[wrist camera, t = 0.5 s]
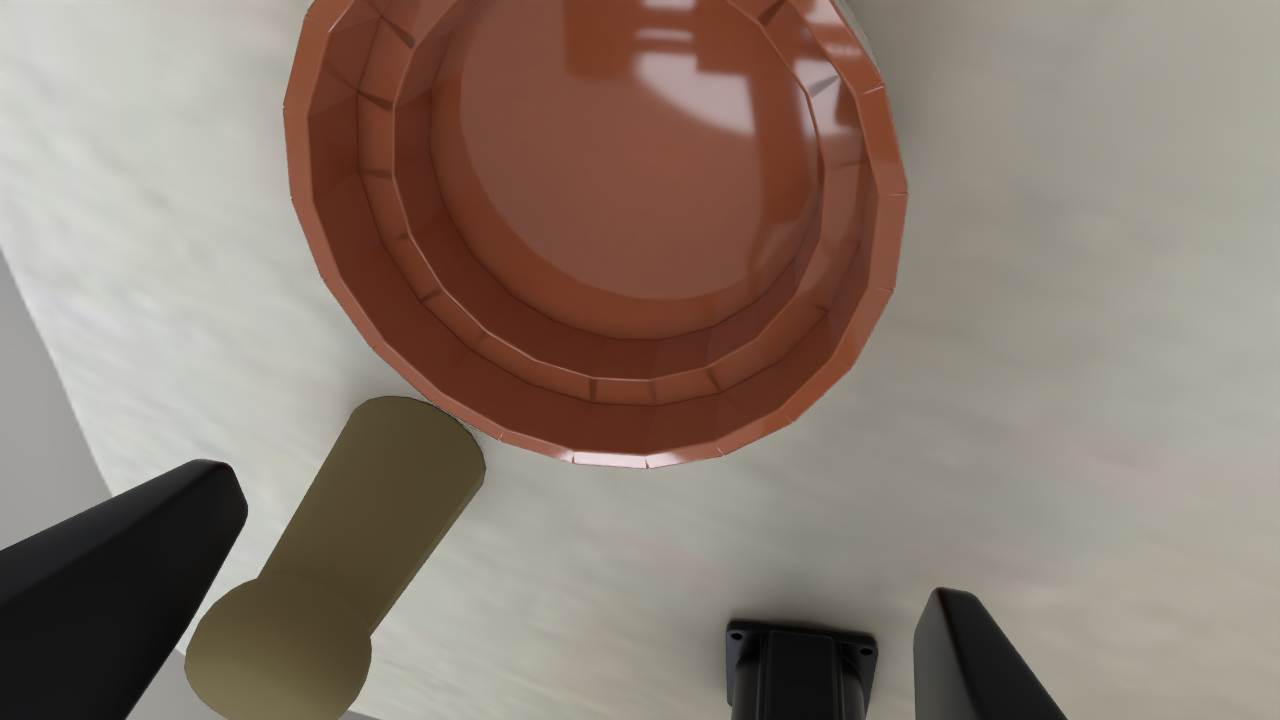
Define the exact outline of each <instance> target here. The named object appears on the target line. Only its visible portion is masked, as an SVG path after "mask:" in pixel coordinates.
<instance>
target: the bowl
mask: <svg viewBox="0 0 1280 720" xmlns="http://www.w3.org/2000/svg"><path fill="white" fill-rule="evenodd" d="M283 106H284V108H283V117H284V128H285V140H286V151H287V162H288V174H289V185H290V196H291V197H292V198H291V201H292V203H293V206H294V209H295V211H296V214H297V216H298V219H299V222H300V224H301V227H302V229H303V232H304V234H305V237H306V240H307V242H308V245H309V247H310V250H311V253H312V255H313V258H314V260H315V263H316V265H317V268H318V271H319V273H320V276H321V278H322V279H323V280H324V283H325V284H326V286H327V287H328V289H329V290H330V291H331V293H332V294H333V296H334V297H335V299H336V300H337V301H338V303H339V304H340V306H341V307H342V308H343V310H344V311H345V313H346V314H347V315H348V317H349V318H350V320H351V321H352V323H353V324H354V325H355V327H356V328H357V330H358V331H359V332H360V334H361V335H362V337H363V338H364V339H365V341H366V342H367V344H368V345H369V347H371V348H373V349H372V350H373V351H374V352H375V353H376V354H377V355H379V356H380V357H381V358H382V359H383V360H384V361H385V362H386V363H388V364H389V365H390V366H391V367H392V368H393V369H394V370H395V371H397V372H398V373H399V374H400V375H401V376H402V377H403V378H404V379H406V380H407V381H408V382H409V383H410V384H411V385H412V386H413V387H414V388H416V389H417V390H418V391H419V392H420V393H421V394H422V395H423V396H425V397H426V398H427V399H428V400H429V401H430V402H433V404H435V405H436V406H438V407H440V408H442V409H443V410H445V411H447V412H449V413H451V414H452V415H454V416H456V417H458V418H459V419H461V420H463V421H465V422H467V423H468V424H470V425H472V426H474V427H475V428H477V429H479V430H481V431H483V432H484V433H486V434H488V435H490V436H491V437H493V438H495V439H497V440H499V441H500V440H501V441H502V442H504V443H507V444H510V445H513V446H517V447H520V448H523V449H527V450H530V451H533V452H536V453H540V454H543V455H546V456H549V457H553V458H556V459H559V460H563V461H566V462H569V463H573V462H574V463H575V464H583V465H597V466H611V467H625V468H639V469H648V468H649V469H653V468H658V467H664V466H670V465H675V464H681V463H687V462H693V461H698V460H704V459H710V458H715V457H721V456H722V455H727V454H729V453H731V452H733V451H735V450H737V449H739V448H741V447H743V446H746V445H748V444H750V443H752V442H754V441H756V440H758V439H760V438H762V437H764V436H767V435H769V434H771V433H773V432H775V431H777V430H779V429H781V428H783V427H785V426H788V425H790V424H791V423H792V422H795V421H796V420H797V419H798V418H799V417H800V416H801V415H802V414H803V413H804V412H805V411H807V410H808V409H809V408H810V407H811V406H812V405H813V404H814V403H815V402H816V401H817V400H818V399H819V398H821V397H822V396H823V395H824V394H825V393H826V392H827V391H828V390H829V389H830V388H831V387H832V386H833V385H835V384H836V383H837V382H838V381H839V380H840V379H841V378H842V377H843V376H844V375H845V374H846V373H848V372H849V371H850V370H851V368H852V366H854V364H855V363H856V361H857V359H858V357H859V355H860V353H861V351H862V350H863V348H864V346H865V344H866V342H867V340H868V338H869V337H870V335H871V333H872V331H873V329H874V327H875V325H876V323H877V322H878V320H879V318H880V316H881V314H882V312H883V310H884V308H885V307H886V305H887V303H888V301H889V299H890V297H891V295H892V294H893V292H894V288H895V285H896V278H897V271H898V264H899V257H900V250H901V243H902V236H903V229H904V222H905V215H906V208H907V201H908V192H907V190H908V184H907V180H906V175H905V171H904V166H903V161H902V157H901V152H900V148H899V143H898V138H897V134H896V129H895V125H894V120H893V115H892V111H891V106H890V101H889V97H888V92H887V88H886V84H885V81H884V79H883V76H882V74H881V71H880V69H879V66H878V63H877V61H876V59H875V56H874V53H873V51H872V48H871V46H870V43H869V40H868V38H867V36H866V33H865V32H864V30H863V28H862V27H861V25H860V24H859V22H858V20H857V19H856V17H855V16H854V14H853V13H852V11H851V9H850V8H849V6H848V5H847V3H846V1H845V0H315V1H314V2H313V3H312V5H311V6H310V7H309V9H308V11H307V14H306V15H305V18H304V22H303V26H302V30H301V34H300V38H299V42H298V46H297V50H296V54H295V58H294V62H293V66H292V70H291V74H290V78H289V82H288V86H287V90H286V95H285V99H284V103H283Z"/></svg>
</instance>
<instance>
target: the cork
mask: <svg viewBox="0 0 1280 720" xmlns="http://www.w3.org/2000/svg"><path fill="white" fill-rule="evenodd" d="M485 470H486V469H485V465H484V461H483V456H482V452H481V451H480V449H479V447H478V446H477V444H476V443H475V441H474V439H473V438H472V436H471V435H470V434H469V433H468V432H467V431H466V430H465V429H464V428H463V427H462V426H461V425H460V424H459V423H458V422H457V421H456V420H455V419H453V418H452V417H450V416H448V415H447V414H445V413H444V412H442V411H440V410H439V409H437V408H435V407H434V406H431V405H428V404H425V403H422V402H419V401H417V400H414V399H411V398H402V397H391V396H386V397H381V398H376V399H371V400H368V401H366V402H365V403H363V404H362V405H360V406H359V407H357V408H356V409H355V410H354V412H353V413H352V415H351V417H350V419H349V420H348V422H347V424H346V426H345V427H344V429H343V431H342V432H341V434H340V436H339V438H338V439H337V441H336V443H335V445H334V446H333V448H332V450H331V451H330V453H329V455H328V457H327V458H326V460H325V462H324V464H323V465H322V467H321V469H320V470H319V472H318V474H317V476H316V477H315V479H314V481H313V483H312V484H311V486H310V488H309V489H308V491H307V493H306V495H305V496H304V498H303V500H302V502H301V503H300V505H299V507H298V509H297V510H296V512H295V514H294V515H293V517H292V519H291V521H290V522H289V524H288V526H287V528H286V529H285V531H284V533H283V534H282V536H281V538H280V540H279V541H278V543H277V545H276V547H275V548H274V550H273V552H272V553H271V555H270V557H269V559H268V560H267V562H266V564H265V566H264V567H263V569H262V571H261V573H260V574H259V576H258V578H256V579H253V580H251V581H248V582H245V583H243V584H241V585H239V586H237V587H235V588H233V589H232V590H230V591H229V592H228V593H227V594H225V595H224V596H223V597H222V598H220V599H219V600H218V601H217V602H215V603H214V604H213V605H212V607H211V608H210V609H209V610H208V611H207V613H206V614H205V615H204V616H203V618H202V619H201V620H200V622H199V624H198V626H197V628H196V630H195V632H194V634H193V636H192V639H191V641H190V643H189V645H188V647H187V650H186V658H185V666H184V669H185V673H186V676H187V680H188V681H189V683H190V685H191V687H192V689H193V690H194V692H195V693H196V694H197V696H198V697H199V698H200V699H201V700H202V701H203V702H204V703H205V704H206V705H208V706H209V707H210V708H211V709H212V710H214V711H215V712H217V713H218V714H220V715H222V716H223V717H225V718H226V719H228V720H338V719H339V718H340V717H341V716H342V715H343V714H344V713H345V711H346V710H347V709H348V708H349V707H350V705H351V704H352V703H353V702H354V701H355V700H356V698H357V697H358V695H359V693H360V691H361V689H362V687H363V685H364V683H365V681H366V678H367V674H368V670H369V667H370V663H371V654H372V646H371V639H370V636H371V635H372V633H373V632H374V631H375V629H376V628H377V627H378V625H379V624H380V623H381V621H382V620H383V619H384V617H385V616H386V614H387V613H388V612H389V610H390V609H391V608H392V606H393V605H394V604H395V602H396V601H397V600H398V598H399V597H400V596H401V594H402V593H403V591H404V590H405V589H406V587H407V586H408V585H409V583H410V582H411V581H412V579H413V578H414V577H415V575H416V574H417V573H418V571H419V570H420V568H421V567H422V566H423V564H424V563H425V562H426V560H427V559H428V558H429V556H430V555H431V554H432V552H433V551H434V549H435V548H436V547H437V545H438V544H439V543H440V541H441V540H442V539H443V537H444V536H445V535H446V533H447V532H448V531H449V529H450V528H451V526H452V525H453V524H454V522H455V521H456V520H457V518H458V517H459V516H460V514H461V513H462V512H463V510H464V509H465V507H466V506H467V505H468V503H469V502H470V501H471V499H472V498H473V497H474V495H475V494H476V493H477V491H478V490H479V489H480V487H481V486H482V484H483V480H484V475H485Z"/></svg>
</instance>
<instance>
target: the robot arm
mask: <svg viewBox="0 0 1280 720" xmlns="http://www.w3.org/2000/svg"><path fill="white" fill-rule="evenodd" d="M247 516H248V505H247V502H246V499H245V497H244V494H243V492H242V490H241V487H240V485H239V482H238V480H237V477H236V475H235V473H234V471H233V469H232V467H231V466H230V465H228V464H227V463H224V462H219V461H213V460H207V459H196V460H192V461H190V462H187V463H185V464H183V465H181V466H179V467H177V468H175V469H173V470H171V471H168V472H166V473H164V474H162V475H160V476H158V477H156V478H154V479H151V480H149V481H147V482H145V483H143V484H141V485H139V486H137V487H135V488H132V489H130V490H128V491H126V492H124V493H122V494H120V495H118V496H115V497H113V498H111V499H109V500H107V501H105V502H103V503H101V504H99V505H96V506H95V507H92V508H90V509H88V510H86V511H84V512H82V513H79V514H77V515H75V516H73V517H71V518H69V519H67V520H65V521H63V522H60V523H58V524H56V525H54V526H52V527H50V528H48V529H46V530H44V531H41V532H39V533H37V534H35V535H33V536H31V537H29V538H27V539H24V540H22V541H20V542H18V543H16V544H14V545H12V546H10V547H7V548H5V549H3V550H1V551H0V720H126V718H127V717H128V716H129V714H130V713H131V711H132V710H133V708H134V707H135V705H136V704H137V702H138V701H139V699H140V698H141V696H142V695H143V693H144V692H145V690H146V689H147V688H148V686H149V685H150V683H151V682H152V680H153V679H154V677H155V676H156V674H157V673H158V671H159V670H160V668H161V667H162V665H163V664H164V662H165V661H166V659H167V658H168V656H169V655H170V653H171V652H172V651H173V649H174V648H175V646H176V645H177V643H178V642H179V640H180V638H181V637H182V635H183V634H184V632H185V631H186V629H187V628H188V626H189V624H190V622H191V621H192V619H193V617H194V615H195V614H196V612H197V610H198V609H199V607H200V605H201V603H202V601H203V599H204V598H205V596H206V594H207V592H208V590H209V589H210V587H211V585H212V583H213V581H214V579H215V578H216V576H217V574H218V572H219V570H220V568H221V567H222V565H223V563H224V561H225V559H226V557H227V556H228V554H229V552H230V550H231V548H232V546H233V545H234V543H235V541H236V539H237V537H238V536H239V534H240V532H241V530H242V528H243V526H244V524H245V522H246V519H247ZM913 653H914V683H915V712H916V720H1068V719H1067V718H1066V717H1065V715H1064V714H1063V713H1062V711H1061V710H1060V709H1059V707H1058V706H1057V704H1056V703H1055V702H1054V700H1053V699H1052V698H1051V696H1050V695H1049V694H1048V692H1047V691H1046V690H1045V688H1044V687H1043V686H1042V684H1041V683H1040V681H1039V680H1038V679H1037V677H1036V676H1035V675H1034V673H1033V672H1032V671H1031V669H1030V668H1029V667H1028V665H1027V664H1026V663H1025V661H1024V660H1023V659H1022V657H1021V656H1020V654H1019V653H1018V652H1017V650H1016V649H1015V648H1014V646H1013V645H1012V644H1011V642H1010V641H1009V640H1008V638H1007V637H1006V636H1005V634H1004V633H1003V632H1002V630H1001V629H1000V627H999V626H998V625H997V623H996V622H995V621H994V619H993V618H992V617H991V615H990V614H989V613H988V611H987V610H986V609H985V607H984V606H983V604H982V603H981V602H980V600H979V599H978V598H977V597H976V596H975V595H973V594H972V593H970V592H967V591H962V590H956V589H950V588H944V587H937V588H935V589H934V590H933V591H932V593H931V595H930V597H929V599H928V602H927V604H926V606H925V608H924V611H923V613H922V615H921V618H920V620H919V622H918V624H917V627H916V630H915V634H914V644H913ZM877 656H878V647H877V642H876V640H875V639H873V638H871V637H867V636H858V635H849V634H840V633H832V632H823V631H814V630H805V629H796V628H787V627H779V626H770V625H761V624H752V623H743V622H731V623H729V624H728V625H727V628H726V665H727V702H728V704H729V705H730V706H731V707H732V716H731V720H865V719H866V714H867V709H868V703H869V698H870V693H871V688H872V683H873V677H874V672H875V667H876V662H877Z"/></svg>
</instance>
